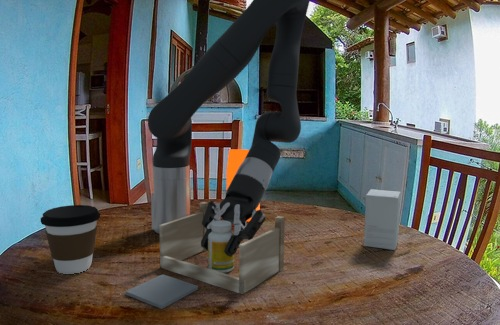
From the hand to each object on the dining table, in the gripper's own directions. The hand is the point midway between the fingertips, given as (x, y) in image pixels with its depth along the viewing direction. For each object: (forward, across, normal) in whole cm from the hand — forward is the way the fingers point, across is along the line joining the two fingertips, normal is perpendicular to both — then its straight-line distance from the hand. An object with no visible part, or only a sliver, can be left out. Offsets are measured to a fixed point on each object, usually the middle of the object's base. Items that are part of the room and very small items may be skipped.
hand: (215, 251), depth 85 cm
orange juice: (-22, -18, +28) cm, 40 cm away
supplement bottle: (+2, 0, +4) cm, 5 cm away
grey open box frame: (+2, 0, +4) cm, 5 cm away
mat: (+12, -2, -6) cm, 14 cm away
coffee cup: (+14, -24, -8) cm, 29 cm away
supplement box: (-22, +22, +29) cm, 43 cm away
